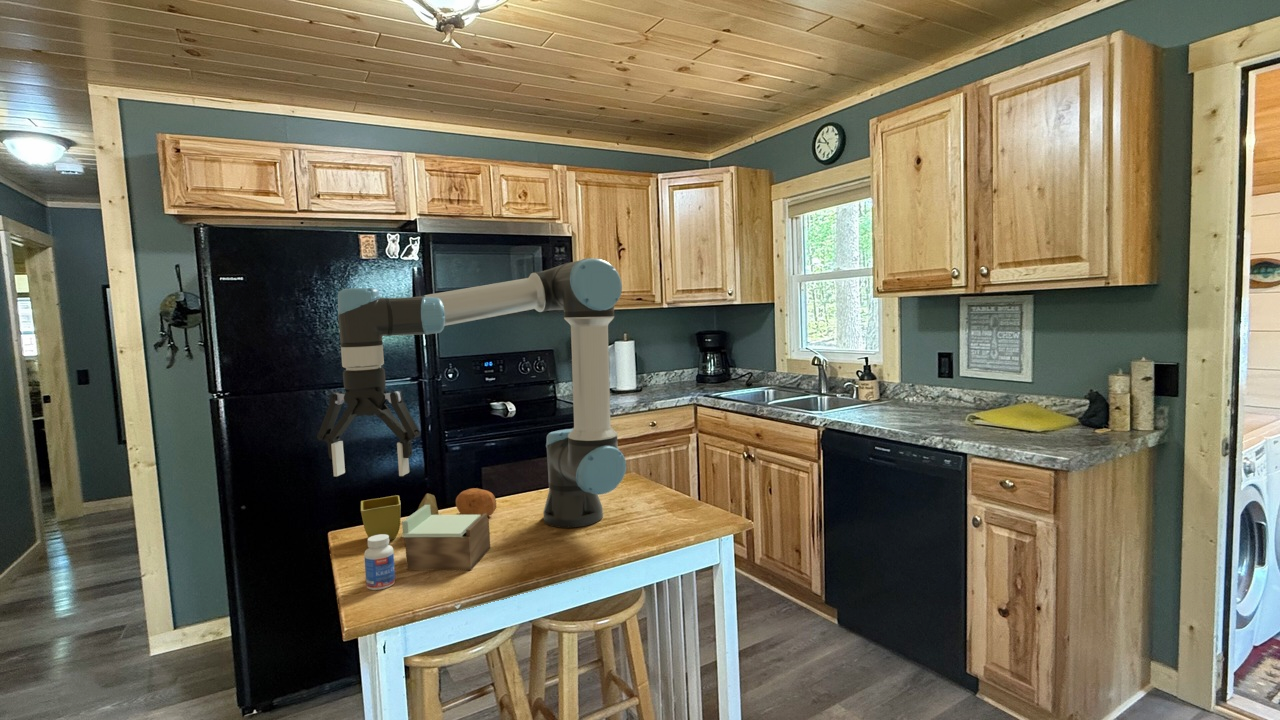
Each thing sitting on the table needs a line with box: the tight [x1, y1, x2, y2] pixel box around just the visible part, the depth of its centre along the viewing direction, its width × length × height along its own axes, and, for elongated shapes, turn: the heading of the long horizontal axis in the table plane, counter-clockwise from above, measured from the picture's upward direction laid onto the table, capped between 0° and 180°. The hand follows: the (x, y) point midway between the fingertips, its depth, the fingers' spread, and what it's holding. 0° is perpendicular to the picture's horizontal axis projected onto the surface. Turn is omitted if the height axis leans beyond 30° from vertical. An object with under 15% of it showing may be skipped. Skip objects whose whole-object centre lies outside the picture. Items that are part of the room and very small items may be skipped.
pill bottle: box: [363, 534, 396, 591], centre depth 126 cm, size 6×5×10 cm
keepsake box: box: [404, 513, 491, 571], centre depth 138 cm, size 14×12×8 cm
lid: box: [401, 505, 481, 538], centre depth 138 cm, size 13×12×3 cm
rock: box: [417, 493, 440, 515], centre depth 152 cm, size 11×9×10 cm
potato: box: [455, 487, 497, 517], centre depth 166 cm, size 9×11×8 cm
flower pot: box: [360, 494, 402, 541], centre depth 152 cm, size 9×9×9 cm
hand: (371, 474), depth 125 cm, fingers open, 13 cm apart
